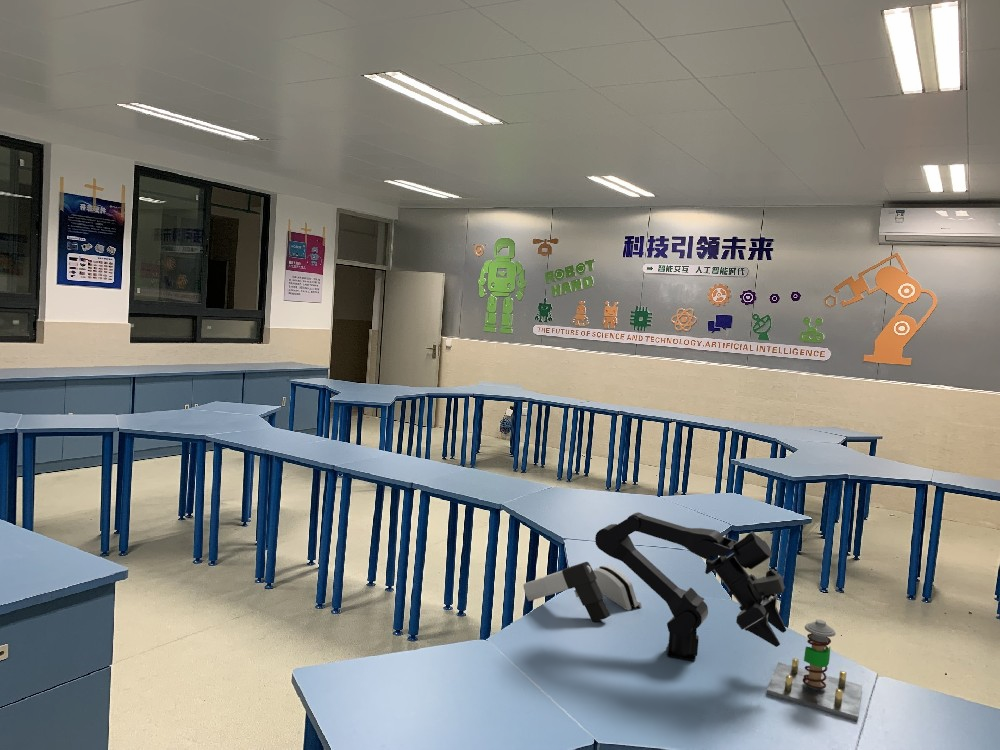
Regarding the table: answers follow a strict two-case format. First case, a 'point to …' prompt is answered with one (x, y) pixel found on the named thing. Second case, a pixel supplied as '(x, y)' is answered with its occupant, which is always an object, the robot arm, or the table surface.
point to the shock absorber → (817, 653)
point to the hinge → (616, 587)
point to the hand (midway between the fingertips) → (781, 638)
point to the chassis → (816, 691)
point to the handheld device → (572, 578)
